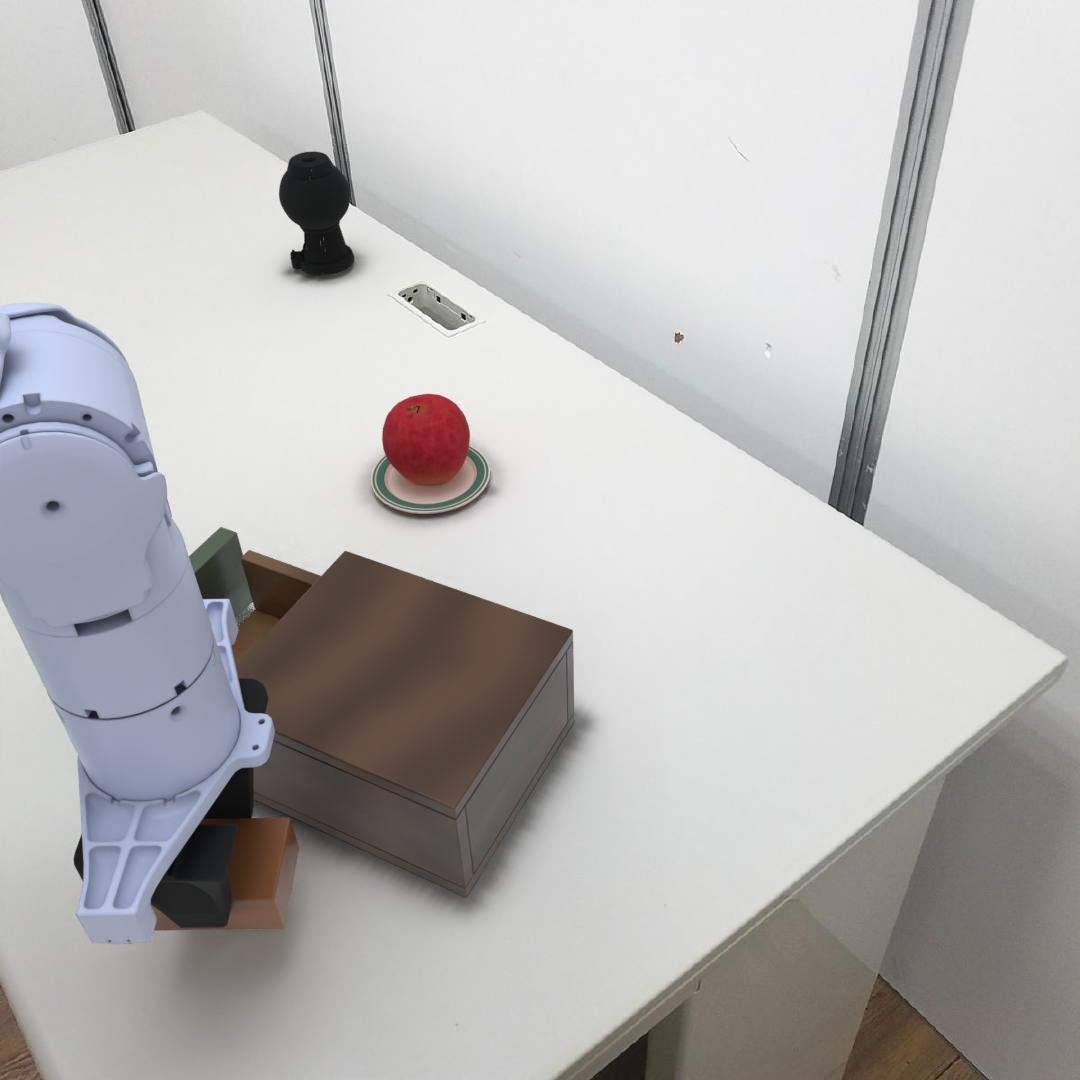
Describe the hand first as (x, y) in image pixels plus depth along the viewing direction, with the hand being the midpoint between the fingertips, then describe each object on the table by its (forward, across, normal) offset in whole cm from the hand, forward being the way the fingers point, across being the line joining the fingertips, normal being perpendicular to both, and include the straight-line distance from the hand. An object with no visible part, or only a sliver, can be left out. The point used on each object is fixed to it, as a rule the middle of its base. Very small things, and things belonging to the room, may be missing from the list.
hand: (216, 871), depth 47 cm
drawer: (+4, +15, +3) cm, 16 cm away
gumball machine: (+5, +63, +5) cm, 64 cm away
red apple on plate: (+5, +33, -6) cm, 34 cm away
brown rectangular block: (+1, 0, 0) cm, 1 cm away
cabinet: (+5, +10, -7) cm, 13 cm away
